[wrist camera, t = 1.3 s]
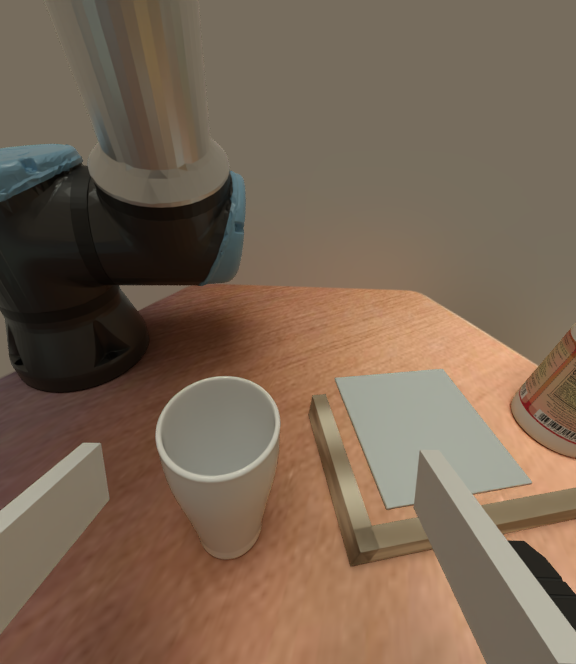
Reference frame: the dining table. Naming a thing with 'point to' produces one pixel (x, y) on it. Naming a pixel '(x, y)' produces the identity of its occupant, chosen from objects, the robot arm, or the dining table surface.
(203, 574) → the dining table surface
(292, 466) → the dining table surface
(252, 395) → the drinking glass
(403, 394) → the pad
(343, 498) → the birch walls
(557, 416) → the fruit juice
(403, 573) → the dining table surface
